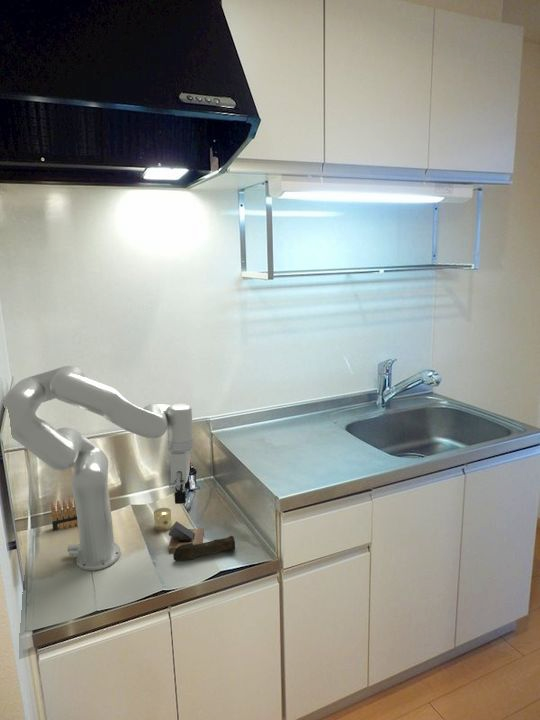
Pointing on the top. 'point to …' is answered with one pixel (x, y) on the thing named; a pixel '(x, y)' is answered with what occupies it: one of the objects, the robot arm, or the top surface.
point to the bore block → (197, 540)
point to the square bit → (181, 533)
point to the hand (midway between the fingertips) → (182, 495)
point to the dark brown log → (203, 548)
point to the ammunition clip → (63, 515)
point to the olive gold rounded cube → (162, 519)
